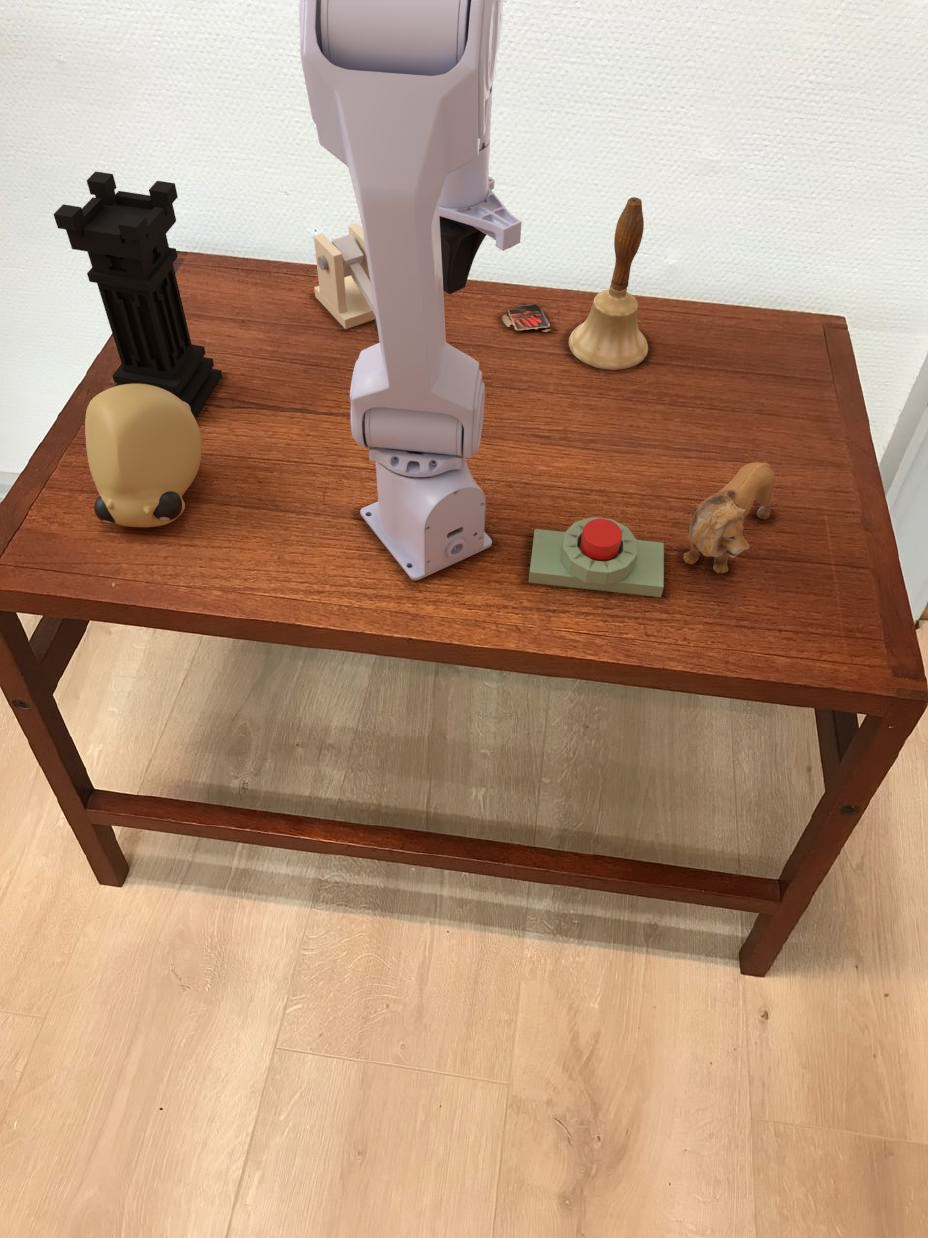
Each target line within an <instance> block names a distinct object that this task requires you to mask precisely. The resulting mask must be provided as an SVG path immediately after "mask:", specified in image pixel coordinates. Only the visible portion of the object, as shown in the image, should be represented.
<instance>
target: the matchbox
mask: <svg viewBox="0 0 928 1238" xmlns="http://www.w3.org/2000/svg"><path fill="white" fill-rule="evenodd" d="M507 312H508V313H507V314H504V315H502V316H501V322H503V324H504V325H505V326H506V327H507V328H511V326H513V327H514V330H515V331H524V330H532V329H534V330H538V329H544V328H545V329H544V330H542V331H541V332H543V333H548V332H551V331H553V329H552V328H550V329H549V327H550V325H551V323H550V322H549V319H548V318H547V316H546V314H545V312H544V310H543V309H542V308H540V307H539V306H538V305H537V303H531V304H529V303H528V304H522V305H517V306H515V307H513V308H509V309H507Z"/></svg>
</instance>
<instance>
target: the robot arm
mask: <svg viewBox="0 0 928 1238" xmlns="http://www.w3.org/2000/svg"><path fill="white" fill-rule="evenodd" d="M298 14H299V15H298V17H299V19H298V21H299V53H300V62H301V68H302V72H303V77H304V83H305V86H306V88H305V89H306V93H307V98H308V104H309V109H310V114H311V119H312V121H313V123H314V124H315V129H316V134H317V138H318V143H319V145H320V146H321V147H323V148H324V149H325V150H326V151H327V152H329V153H330V154H331V155H332V156H334V157H335V158H336V159H337V160H339V161H340V162H341V163H342V164H344V165H345V166H346V167H347V169H348V173H349V175H350V181H351V184H352V189H353V193H354V197H355V202H356V205H357V210H358V214H359V218H360V223H361V228H362V230H363V237H364V243H365V250H366V256H367V263H368V270H369V276H370V283H371V289H372V296H373V302H374V309H375V315H376V322H377V328H378V333H377V335H378V341H379V342H378V343H375V344H373V345H370V346H369V347H367V348H364V349H362V350H361V351H360V352H359V355H358V359H356V361H355V363H354V368H353V370H352V371H353V372H352V376H351V381H350V388H349V400H350V431H351V436H352V439H353V440H354V441H355V442H356V445H357V446H358V448H361V449H368V456H369V458H368V459H369V461H371V462H375V476H376V490H377V501H376V502H373V503H370V504H369V505H365V506H364V507H361V509H360V510H359V512H360V513H359V514H360V516H361V518H362V519H363V520H364V521H365V523H366V524H367V525H368V526H369V528H370V529H371V530H372V532H373V533H374V534H375V535H376V537H377V538H378V539H379V540H380V542H382V544H383V546H385V548H386V549H387V550H388V551H389V553H390V554H391V555H392V557H393V558H394V559H395V561H396V562H397V563H398V564H399V566H400V567H401V568H402V569H403V571H404V572H405V573H406V574H407V576H408V577H409V578H410V579H411V580H412V581H420V580H423V579H424V578H426V577H428V576H430V575H433V574H435V573H437V572H439V571H441V570H444V569H446V568H448V567H450V566H452V565H454V564H457V563H459V562H461V561H463V560H465V559H467V558H469V557H470V558H471V556H473V555H476V554H479V553H480V552H482V551H485V550H486V549H490V548H491V547H492V545H493V540H492V538H491V537H490V536H489V535H488V533H486V531H485V527H486V526H485V524H486V510H487V507H486V506H487V499H486V495H485V493H484V491H483V489H482V487H480V486H479V484H478V482H476V480H475V479H474V477H473V475H472V472H471V471H470V469H469V466H468V462H467V459H473V457H474V456H475V455H476V454H477V453H478V452H479V450H480V446H481V440H482V434H483V425H484V414H485V404H486V403H485V402H486V384H485V383H484V381H483V372H482V371H481V369H480V362H479V361H478V360H476V359H475V358H473V357H472V356H470V355H468V354H467V353H464V352H463V351H462V350H459V348H458V349H457V348H456V347H454V346H453V345H451V344H449V343H448V342H447V337H446V336H447V335H446V318H445V317H446V316H445V297H444V292H445V293H446V294H448V295H452V294H454V293H456V292H459V291H460V290H462V289H465V288H466V286H467V282H468V278H469V275H470V272H471V269H472V265H473V262H474V259H475V258H476V255H477V253H478V251H479V248H480V247H481V245H482V243H483V241H484V240H485V238H486V236H488V237H489V238H491V239H493V240H494V241H495V247H496V248H497V249H499V250H501V251H503V252H504V251H506V250H509V249H511V248H512V247H516V246H517V245H519V244H520V243H521V235H522V222H523V221H521V220H520V219H518V218H516V217H515V216H514V215H513V214H512V213H511V212H510V211H509V210H508V208H507V207H506V206H505V205H504V204H503V203H502V201H501V200H500V199H499V197H498V196H496V194H495V193H494V191H493V190H494V189H495V179H494V178H493V177H491V176H490V175H489V174H490V154H491V153H490V152H491V151H490V150H491V127H492V125H491V124H492V105H493V104H492V103H493V102H492V101H493V85H494V81H495V77H496V71H497V59H498V51H499V47H500V44H501V38H502V37H501V35H502V27H503V15H504V0H299V11H298Z"/></svg>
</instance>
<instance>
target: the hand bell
mask: <svg viewBox="0 0 928 1238" xmlns="http://www.w3.org/2000/svg"><path fill="white" fill-rule="evenodd" d="M644 219H645V218H644V213H643V201H642V199H641V198H639V197H634V196H633V197H632V196H631V197H630V198H628V199H627V202H626V204H625V206H624V208H623V210H622V212H621V214H620V215H619V218H618V219H617V222H616V225H615V231H614V239H613V240H614V241H613V247H614V248H613V249H614V254H615V255H614V256H615V261H614V262H615V263H614V268H613V272H612V276H611V277H612V279H611V280H610V286H609V289H604V290H601V291H600V292H598V293H597V294H596V295H595V297H594V299H593V301H592V304H591V308H590V311H589V314H588V316H587V317H586V319H585V320H584V322H582V323H580V324H579V325H578V326H576V327H574V329H573V330H572V332H571V334H570V335H569V337H568V346H569V349H570V351H571V353H572V354H573V356H574V357H575V358H576V359H577V360H579V361H581V362H582V363H584V364H586V365H588V366H591V367H594V368H595V369H596V368H597V369H601V370H607V371H619V370H626V369H631V368H633V367H636V366H637V365H639V364H640V363H642V362H643V361H644V360H645V359H646V358H647V356H648V353H649V345H648V341H647V338H646V336H645V335H644V334H643V333H642V331H641V330H640V329H639V325H638V309H639V303H638V300H637V299H636V297H635V296H634V295H633V294H632V293H630V292H628V287H629V283H630V282H629V281H630V275H631V267H632V264H633V260H634V258H635V257H636V255H637V253H638V251H639V249H640V246H641V243H642V241H643V240H642V239H643V235H644V230H645V229H644V226H645V222H644V221H645V220H644Z"/></svg>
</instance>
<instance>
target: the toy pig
mask: <svg viewBox="0 0 928 1238" xmlns="http://www.w3.org/2000/svg"><path fill="white" fill-rule="evenodd" d="M114 386H115V385H114ZM114 386H111V387H109V388H107V389H105V390H103V391H101V392H99V393H98V394H97V395H95V396H94V397H92V399H90V402H89V403H88V405H87V407H86V411H85V420H84V434H85V435H84V436H85V448H86V449H85V450H86V455H87V463H88V468H89V471H90V474H91V477H92V480H93V482H94V485H95V488H96V491H97V493H98V496H97V498H96V500H95V501H94V505H93V509H94V513H95V516H96V517H97V518H98V520H100V521H101V522H103V523H106V524H116V525H119V526H122V527H129V528H155V527H161V526H166V525H169V524H170V523H172V522H174V521H176V520H177V519H178V518H179V517H180V516H181V515H182V514H183V513H184V511H185V508H186V504H185V501H184V499H183V496H184V494H185V493H186V491H187V490H188V489H189V488H190V486H191V485H192V483H193V482H194V480H195V479H196V476H197V474H198V472H199V469H200V467H201V466H200V465H201V461H202V455H203V453H202V452H203V443H202V442H203V441H202V435H201V431H200V428H199V424H198V422H197V420H196V419H195V418H194V416H193V414H192V412H191V408H190V406H189V405H188V404H187V403H186V402H183V401H182V400H180V399H179V398H178V397H177V396H175V395H174V394H172V393H170V392H168V391H166V390H164V389H162V388H159V387H156V386H152V385H147V384H124V385H119V386H115V387H114Z"/></svg>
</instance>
